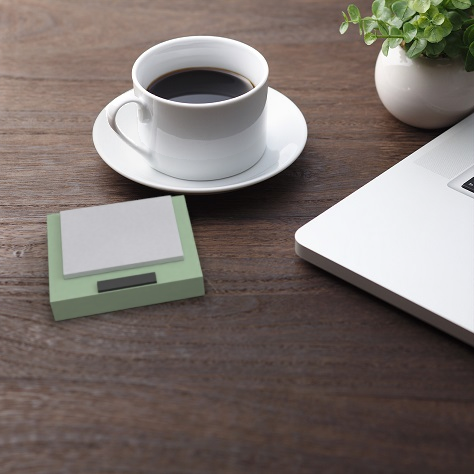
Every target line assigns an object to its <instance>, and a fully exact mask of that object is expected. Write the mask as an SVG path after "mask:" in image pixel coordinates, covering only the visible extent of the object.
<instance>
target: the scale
mask: <svg viewBox="0 0 474 474" xmlns="http://www.w3.org/2000/svg"><path fill="white" fill-rule="evenodd" d="M46 235H47V237H46V238H47V261H48V262H47V263H48V265H47V266H48V287H49V288H48V290H49V304H50V308H51V312H52V316H53V319H54V321H55V322H60V321H65V320H66V321H67V320H72V319H76V318H82V317H88V316H95V315H100V314H104V313H110V312H111V313H112V312H116V311H122V310H129V309H133V308H139V307H144V306H151V305H156V304H162V303H167V302H173V301H179V300H185V299H191V298H197V297H202V296H205V294H206V293H205V292H206V291H205V282H204V275H203V271H202V266H201V262H200V257H199V254H198V249H197V244H196V240H195V236H194V232H193V228H192V224H191V219H190V215H189V211H188V207H187V203H186V198H185V195H184V194H182V195H175V196H172V195H164V196H157V197H150V198H143V199H138V200H137V199H136V200H135V199H134V200H128V201H122V202H115V203H108V204H101V205H93V206H88V207H81V208H80V207H79V208H73V209H72V208H71V209H67V210H66V209H65V210H59V212H56V213H50V214H46Z"/></svg>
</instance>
